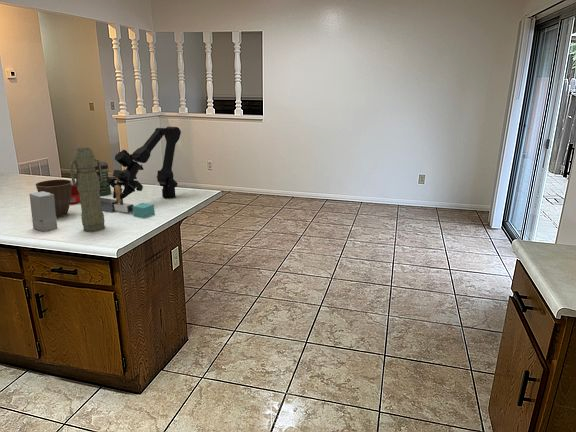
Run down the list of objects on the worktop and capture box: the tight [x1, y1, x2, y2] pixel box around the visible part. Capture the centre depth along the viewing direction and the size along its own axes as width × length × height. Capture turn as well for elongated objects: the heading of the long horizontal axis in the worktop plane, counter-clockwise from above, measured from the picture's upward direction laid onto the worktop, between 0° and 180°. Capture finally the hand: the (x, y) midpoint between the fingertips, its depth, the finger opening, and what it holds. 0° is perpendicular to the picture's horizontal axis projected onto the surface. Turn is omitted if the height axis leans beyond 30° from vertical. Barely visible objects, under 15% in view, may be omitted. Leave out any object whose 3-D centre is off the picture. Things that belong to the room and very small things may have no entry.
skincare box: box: [29, 191, 58, 232], centre depth 182 cm, size 8×7×16 cm
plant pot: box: [35, 179, 72, 218], centre depth 201 cm, size 15×15×16 cm
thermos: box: [69, 147, 106, 233], centre depth 180 cm, size 9×12×35 cm
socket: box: [132, 202, 156, 219], centre depth 203 cm, size 7×7×5 cm
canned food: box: [69, 180, 81, 206], centre depth 223 cm, size 8×8×11 cm
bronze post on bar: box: [112, 185, 135, 214], centre depth 208 cm, size 22×3×13 cm, turn 67°
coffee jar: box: [95, 161, 112, 197], centre depth 239 cm, size 10×8×19 cm
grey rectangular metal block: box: [100, 197, 117, 213], centre depth 212 cm, size 14×5×5 cm, turn 67°
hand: (117, 198), depth 206 cm, fingers open, 4 cm apart
